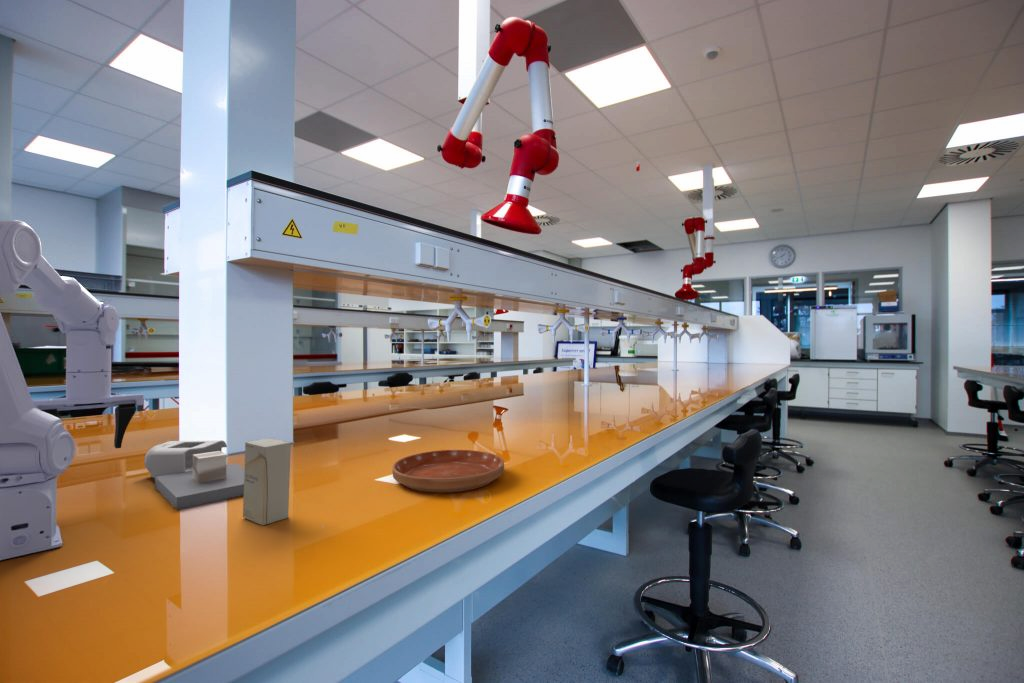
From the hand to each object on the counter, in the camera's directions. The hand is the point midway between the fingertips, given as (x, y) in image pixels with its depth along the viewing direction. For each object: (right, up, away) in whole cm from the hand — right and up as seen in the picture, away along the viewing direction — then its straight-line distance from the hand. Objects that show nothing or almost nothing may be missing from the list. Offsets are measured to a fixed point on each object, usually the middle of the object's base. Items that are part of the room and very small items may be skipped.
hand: (88, 451), depth 79 cm
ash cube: (+14, -8, +10) cm, 19 cm away
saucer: (+60, -10, +17) cm, 63 cm away
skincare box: (+33, -10, -5) cm, 35 cm away
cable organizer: (+2, -10, +20) cm, 22 cm away
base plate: (+15, -10, +10) cm, 20 cm away
